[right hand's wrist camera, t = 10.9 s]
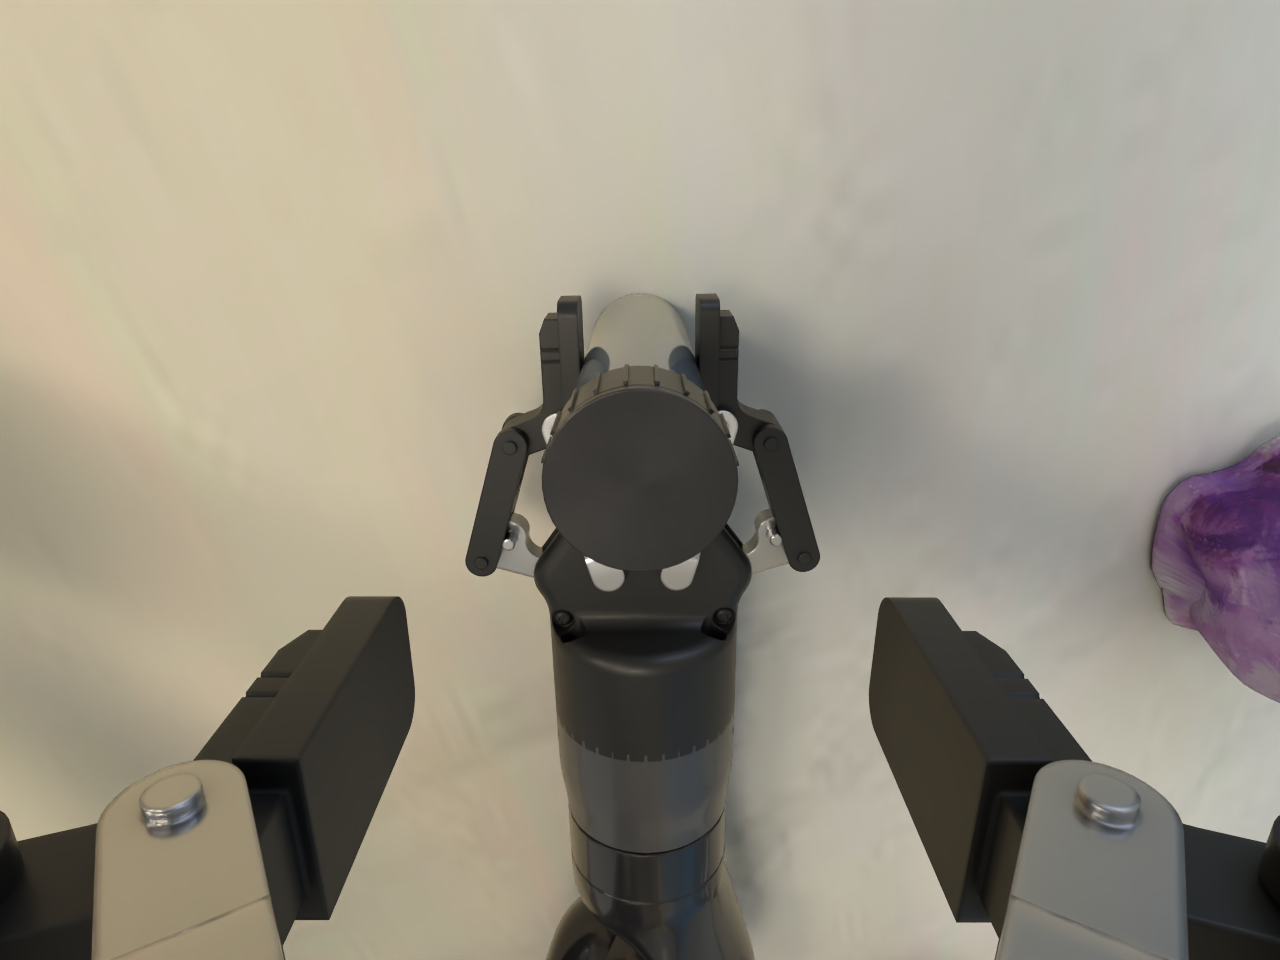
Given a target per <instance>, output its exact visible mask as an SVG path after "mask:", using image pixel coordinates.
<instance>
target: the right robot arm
mask: <svg viewBox="0 0 1280 960" xmlns="http://www.w3.org/2000/svg"><path fill="white" fill-rule="evenodd" d="M414 703H415V686H414V677H413V668H412V660H411V652H410V643H409V635H408V626H407V618H406V611H405V606H404V603H403V601H402V599H401V598H400V597H347V598H346V599H345V600H344V601H343V602H342V604H341V605H340V606H339V608H338V609H337V611H336V612H335V613H334V615H333V616H332V618H331V619H330V621H329V622H328V623H327V625H326V626H325V628H324V629H323V630H308V631H306V632H305V633H303V634H302V635H300V636H299V637H297V638H296V639H294V640H293V641H291V642H290V643H288V644H287V645H285V646H284V647H282V648H281V649H279V650H278V652H277V653H276V654H275V656H274V657H273V658H272V660H271V661H270V662H269V663H268V665H267V666H266V667H265V669H264V670H263V671H262V672H261V678H257V679H256V680H255V681H254V683H253V684H252V685H251V687H250V688H249V689H248V691H247V692H246V697H242V698H241V700H240V701H239V702H238V703H237V705H236V706H235V707H234V709H233V710H232V711H231V712H230V714H229V715H228V716H227V718H226V719H225V720H224V722H223V723H222V724H221V725H220V727H219V728H218V729H217V731H216V732H215V733H214V734H213V736H212V737H211V738H210V740H209V741H208V742H207V744H206V745H205V746H204V747H203V749H202V750H201V751H200V753H199V754H198V755H197V756H196V758H195V759H194V760H193V761H189V762H184V763H180V764H176V765H172V766H169V767H166V768H164V769H161V770H158V771H156V772H154V773H152V774H150V775H147V776H145V777H144V778H142V779H140V780H138V781H137V782H135V783H133V784H132V785H131V786H129V787H128V788H126V789H125V790H124V791H122V792H121V793H120V794H119V795H118V796H117V797H115V798H114V799H113V801H112V802H111V803H110V804H109V805H108V806H107V807H106V809H105V810H104V812H103V813H102V814H101V817H100V819H99V821H98V823H96V824H92V825H89V826H84V827H80V828H75V829H71V830H66V831H62V832H57V833H53V834H49V835H44V836H40V837H35V838H31V839H26V840H22V841H17V840H16V838H15V835H14V832H13V829H12V827H11V824H10V821H9V818H8V817H7V816H6V815H5V813H3V812H2V811H0V960H285V955H284V951H283V944H284V942H285V940H286V938H287V936H288V933H289V931H290V929H291V927H292V925H293V923H294V921H295V920H329V919H330V917H331V914H332V912H333V910H334V907H335V905H336V903H337V900H338V898H339V895H340V893H341V891H342V888H343V886H344V884H345V881H346V879H347V876H348V874H349V872H350V869H351V867H352V865H353V862H354V860H355V858H356V855H357V853H358V850H359V848H360V846H361V843H362V841H363V839H364V836H365V834H366V831H367V829H368V827H369V824H370V822H371V820H372V817H373V815H374V812H375V810H376V808H377V805H378V803H379V801H380V798H381V796H382V794H383V791H384V789H385V786H386V784H387V782H388V779H389V777H390V775H391V772H392V770H393V767H394V765H395V763H396V760H397V758H398V756H399V753H400V751H401V748H402V746H403V744H404V741H405V739H406V737H407V734H408V732H409V729H410V726H411V723H412V718H413V713H414ZM869 706H870V714H871V720H872V724H873V728H874V731H875V733H876V736H877V738H878V740H879V743H880V745H881V747H882V750H883V752H884V754H885V757H886V759H887V761H888V764H889V766H890V768H891V771H892V773H893V775H894V778H895V780H896V782H897V785H898V787H899V789H900V792H901V794H902V796H903V799H904V801H905V803H906V806H907V808H908V810H909V813H910V815H911V817H912V820H913V822H914V824H915V827H916V829H917V831H918V834H919V836H920V838H921V841H922V843H923V845H924V848H925V850H926V852H927V855H928V857H929V859H930V862H931V864H932V866H933V869H934V871H935V873H936V876H937V878H938V880H939V883H940V885H941V887H942V890H943V892H944V894H945V897H946V899H947V901H948V904H949V906H950V908H951V911H952V913H953V915H954V918H955V920H956V922H991V923H992V925H993V927H994V929H995V931H996V933H997V936H998V938H999V942H998V946H997V951H996V955H995V960H1280V815H1279V816H1278V817H1277V819H1276V820H1275V821H1274V824H1273V826H1272V829H1271V832H1270V835H1269V837H1268V840H1267V843H1264V842H1259V841H1255V840H1250V839H1246V838H1241V837H1237V836H1232V835H1228V834H1223V833H1219V832H1215V831H1210V830H1206V829H1201V828H1197V827H1193V826H1190V825H1186V824H1182V821H1181V819H1180V817H1179V814H1178V813H1177V812H1176V810H1175V809H1174V807H1173V806H1172V805H1171V804H1170V803H1169V802H1168V801H1167V799H1166V798H1165V797H1163V796H1162V795H1161V794H1160V793H1159V792H1158V791H1156V790H1155V789H1154V788H1152V787H1151V786H1149V785H1148V784H1147V783H1145V782H1143V781H1142V780H1140V779H1138V778H1136V777H1135V776H1133V775H1130V774H1128V773H1126V772H1124V771H1122V770H1119V769H1116V768H1114V767H1111V766H1108V765H1104V764H1100V763H1096V762H1092V761H1091V759H1090V758H1089V757H1088V756H1087V754H1086V753H1085V752H1084V750H1083V749H1082V748H1081V747H1080V745H1079V744H1078V743H1077V741H1076V740H1075V739H1074V738H1073V736H1072V735H1071V734H1070V733H1069V731H1068V730H1067V729H1066V727H1065V726H1064V725H1063V724H1062V722H1061V721H1060V720H1059V718H1058V717H1057V716H1056V715H1055V713H1054V712H1053V711H1052V709H1051V708H1050V707H1049V706H1048V704H1047V703H1046V702H1045V701H1044V699H1040V698H1039V693H1038V692H1037V690H1036V689H1035V688H1034V686H1033V685H1032V684H1031V683H1030V681H1029V680H1028V679H1024V674H1023V672H1022V671H1021V670H1020V669H1019V667H1018V666H1017V665H1016V663H1015V662H1014V661H1013V660H1012V658H1011V657H1010V656H1009V655H1008V653H1007V652H1006V651H1005V650H1003V649H1002V648H1000V647H999V646H997V645H996V644H994V643H993V642H991V641H990V640H988V639H987V638H985V637H984V636H982V635H981V634H979V633H978V632H976V631H962V630H961V629H960V628H959V626H958V625H957V623H956V622H955V621H954V619H953V618H952V617H951V615H950V614H949V612H948V611H947V610H946V608H945V607H944V605H943V604H942V603H941V601H940V600H939V599H937V598H884V599H883V600H882V602H881V604H880V608H879V612H878V620H877V628H876V636H875V644H874V653H873V661H872V669H871V677H870V686H869Z"/></svg>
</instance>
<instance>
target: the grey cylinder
mask: <svg viewBox="0 0 1280 960" xmlns="http://www.w3.org/2000/svg"><path fill="white" fill-rule="evenodd" d="M625 364H629V366H653V367H654V364H655V365H658V367H659V368H663V369H666V370H670V371H673V372H675V373H677V374H679V375H681V374H682V373H683V374H685V375H686V378H687V379H688V380H690V381H692V382H693V383H694V384H695V385H697V386H698V387H699V388H700V389H702V391H703V392H704V391H705V389H704V385H703V382H702V379H701V376H700V373H699V370H698V366H697V363H696V360H695V357H694V354H693V351H692V347H691V344H690V341H689V338H688V335H687V332H686V328H685V326H684V323H683V321H682V319H681V317H680V315H679V314H678V312H677V311H676V310H675V309H674V308H673V307H672V306H671V305H670V304H669V303H667V302H666V301H664V300H663V299H660V298H658V297H656V296H652V295H648V294H631V295H627V296H624V297H622V298H619V299H617V300H616V301H614V302H613V303H611V304H610V305H609V306H608V307H607V308H606V309H605V310H604V311H603V312H602V313H601V315H600V317H599V318H598V320H597V322H596V325H595V328H594V331H593V334H592V337H591V340H590V343H589V347H588V350H587V353H586V356H585V359H584V363H583V366H582V369H581V372H580V375H579V378H578V382H577V385H576V388H577V389H578V390H579V389H580V388H581V387H582V386H583V385H584V384H586V383H587V382H588V381H590V380H591V379H593V378H595V377H596V374H597V373H599V372H601V374H602V373H605V372H608V371H610V370H613V369H617V368H621V367H624V365H625ZM576 388H575V389H576Z"/></svg>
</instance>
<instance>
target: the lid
mask: <svg viewBox="0 0 1280 960" xmlns="http://www.w3.org/2000/svg"><path fill="white" fill-rule="evenodd" d="M550 435H552V437H551V436H550V438H549V440H548V443H547V446H546V449H545V452H544V454H543V457H542V461H541V463H543V471H542V490H543V496H544V501H545V504H546V508H547V511H548V513H549V515H550V517H551V519H552V522H553V523H554V525H555V526H556V528H557V530H558V531H559V532H560V534H561V535H562V536H563V537H564V538H565V540H566V541H567V542H568V543H569V544H570V545H572V546H573V547H574V548H575V549H576V550H577V551H579V552H580V553H582V554H583V555H584V556H586V557H588V558H589V559H591V560H593V561H595V562H597V563H600V564H602V565H605V566H607V567H611V568H614V569H618V570H624V571H632V572H646V571H656V570H661V569H666V568H669V567H672V566H675V565H678V564H681V563H683V562H685V561H687V560H689V559H691V558H692V557H694V556H695V555H697V554H698V553H700V552H701V551H702V550H704V549H705V548H706V547H707V546H708V545H710V544H711V543H712V541H713V540H714V539H715V538H716V537H717V536H718V535H719V533H720V532H721V531H722V529H723V528H724V526H725V525H726V523H727V521H728V519H729V517H730V515H731V513H732V510H733V507H734V504H735V500H736V495H737V488H738V471H737V466H739V462H738V459H737V457H736V454H735V451H734V448H733V445H732V442H731V440H730V439H729V438H731V434H730V432H729V429H728V426H727V423H726V420H725V418H724V415H723V413H721V414H719V412H718V410H717V408H716V407H715V405H714V404H713V402H712V401H711V399H710V396H709V393H708V392H707V391H706V390H705V391H704V392H703V391H702V389H700V388H699V387H698V386H697V385H695V384H694V383H693V382H692V381H690V380H688V379H687V378H686V375H685V374H683V373H682V374H681V375H679V374H677V373H675V372H673V371H670V370H666V369H663V368H659V367H658V365H655V364H654V367H653V366H629V364H625V365H624V367H621V368H617V369H613V370H610V371H608V372H605V373H602V374H601V372H599V373H597V374H596V377H595V378H593V379H591V380H590V381H588V382H587V383H586V384H584V385H583V386H582V387H581V388H580V389H579V390H578V389H577V388H576V389H575V390H573V393H572V396H571V398H570V399H569V401H568V402H567V403H566V405H565V407H564V408H563V410H562V412H561V411H558V413H557V415H556V418H555V421H554V424H553V426H552V429H551V432H550Z"/></svg>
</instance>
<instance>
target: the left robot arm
mask: <svg viewBox="0 0 1280 960" xmlns="http://www.w3.org/2000/svg"><path fill="white" fill-rule="evenodd" d="M539 338H540V354H541V370H542V385H543V404H542V405H541V406H540V407H539V408H537V409H535V410H532V411H529V412H527V413H524V414H523V413H515V414H512V415H510V416H509V417H508V418H507V419H506V421H505V423H504V424H503V427H502V431H501V432H499V434H498V435H497V437H496V439H495V441H494V444H493V448H492V452H491V456H490V460H489V464H488V468H487V473H486V477H485V481H484V485H483V489H482V493H481V497H480V502H479V506H478V510H477V514H476V518H475V522H474V526H473V530H472V535H471V539H470V543H469V547H468V551H467V555H466V560H465V561H466V566H467V568H468V570H469V571H470V572H471V573H473V574H475V575H477V576H488V575H490V574H492V573H493V572H494V571H495V569H496V568H499V569H503V570H507V571H510V572H514V573H518V574H522V575H526V576H530V577H534V580H535V584H536V586H537V588H538V590H539V591H540V592H541V594H542V595H543V597H544V598H545V600H546V602H547V604H548V607H549V611H550V620H551V635H552V650H553V665H554V680H555V695H556V710H557V724H558V739H559V753H560V762H561V769H562V773H563V778H564V782H565V785H566V790H567V794H568V802H569V819H570V835H571V849H572V862H573V870H574V877H575V882H576V887H577V890H578V892H579V894H580V897H579V898H578V899H577V900H576V901H575V902H574V903H573V904H572V905H571V906H570V907H569V908H568V910H567V911H566V913H565V914H564V916H563V917H562V919H561V921H560V923H559V925H558V927H557V929H556V931H555V934H554V937H553V939H552V942H551V944H550V947H549V951H548V954H547V957H546V960H755V958H754V954H753V949H752V945H751V941H750V938H749V935H748V931H747V928H746V925H745V922H744V919H743V916H742V913H741V910H740V907H739V904H738V901H737V898H736V895H735V891H734V888H733V884H732V881H731V877H730V874H729V872H728V869H727V866H726V863H725V860H724V852H725V810H726V791H727V786H728V781H729V776H730V772H731V766H732V755H733V733H734V699H735V666H736V631H737V608H738V603H739V600H740V598H741V596H742V594H743V592H744V591H745V590H746V588H747V587H748V585H749V583H750V580H751V575H752V574H754V573H757V572H760V571H764V570H767V569H771V568H774V567H777V566H781V565H784V564H788V563H789V564H790V566H791V567H792V568H793V569H794V570H796V571H800V572H806V571H810V570H812V569H813V568H815V567H816V566H817V564H818V563H819V560H820V553H819V549H818V546H817V542H816V539H815V535H814V532H813V528H812V525H811V521H810V518H809V514H808V511H807V507H806V503H805V500H804V496H803V493H802V489H801V486H800V482H799V479H798V475H797V472H796V468H795V465H794V461H793V458H792V454H791V450H790V447H789V443H788V440H787V437H786V435H785V433H784V431H783V430H782V428H781V426H780V424H779V423H778V421H777V419H776V418H775V416H774V415H773V414H772V413H771V412H770V411H768V410H764V409H760V410H756V409H753V408H750V407H747V406H745V405H743V404H741V403H740V402H739V401H738V400H737V382H738V346H739V330H738V327H737V324H736V322H735V319H734V316H733V315H732V314H731V312H730V311H729V310H720V301H719V298H718V296H717V295H716V294H696V311H695V360H696V363H697V366H698V370H699V373H700V376H701V379H702V382H703V385H704V389H705V390H706V391H707V392H708V393H709V396H710V399H711V401H712V402H713V404H714V405H715V407H716V408H717V410H718V412H719V414H721V413H723V415H724V418H725V420H726V423H727V426H728V429H729V432H730V434H731V438H729V439H730V440H731V442H732V445H736V446H739V447H742V448H745V449H748V450H751V451H753V454H754V457H755V460H756V464H757V467H758V470H759V474H760V477H761V480H762V484H763V487H764V490H765V494H766V497H767V500H768V504H769V507H770V509H766V510H764V511H762V512H760V513H759V514H758V515H757V517H756V519H755V524H754V525H755V533H754V536H753V538H752V539H751V540H750V541H749V542H747V543H745V544H742V542H741V541H740V540H739V538H738V537H737V536H736V535H735V533H734V532H733V531H732V529H731V528H730V527H729V526H728V524H727V523H726V525H725V526H724V528H723V529H722V531H721V532H720V533H719V535H718V536H717V537H716V538H715V539H714V540H713V541H712V543H711V544H710V545H708V546H707V547H706V548H705V549H704V550H702V551H701V552H700V553H698V554H697V555H695V556H694V557H692V558H691V559H689V560H687V561H685V562H683V563H681V564H678V565H675V566H672V567H669V568H666V569H661V570H656V571H646V572H632V571H624V570H618V569H614V568H611V567H607V566H605V565H602V564H600V563H597V562H595V561H593V560H591V559H589V558H588V557H586V556H584V555H583V554H582V553H580V552H579V551H577V550H576V549H575V548H574V547H573V546H572V545H570V544H569V543H568V542H567V541H566V540H565V538H564V537H563V536H562V535H561V534H560V532H559V531H558V530H557V528H556V529H555V530H554V532H553V533H552V534H551V536H550V537H549V538H548V540H547V541H546V543H545V544H544V545H543V547H539V546H537V545H535V544H534V543H533V542H532V540H531V538H530V535H529V530H530V526H529V523H528V521H527V519H526V518H525V517H523V516H522V515H520V514H517V513H514V510H515V506H516V503H517V499H518V495H519V491H520V487H521V483H522V480H523V476H524V472H525V468H526V464H527V460H528V456H529V455H530V454H533V453H535V452H538V451H541V450H544V449H546V446H547V443H548V440H549V438H550V436H551V437H552V435H550V432H551V429H552V426H553V424H554V421H555V418H556V415H557V413H558V411H561V412H562V410H563V408H564V407H565V405H566V403H567V402H568V401H569V399H570V398H571V396H572V393H573V390H575V388H576V385H577V382H578V378H579V375H580V372H581V369H582V366H583V363H584V342H583V320H582V301H581V296H561V297H560V299H559V300H558V303H557V313H548V314H547V316H546V317H545V319H544V321H543V324H542V327H541V330H540V333H539Z"/></svg>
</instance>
